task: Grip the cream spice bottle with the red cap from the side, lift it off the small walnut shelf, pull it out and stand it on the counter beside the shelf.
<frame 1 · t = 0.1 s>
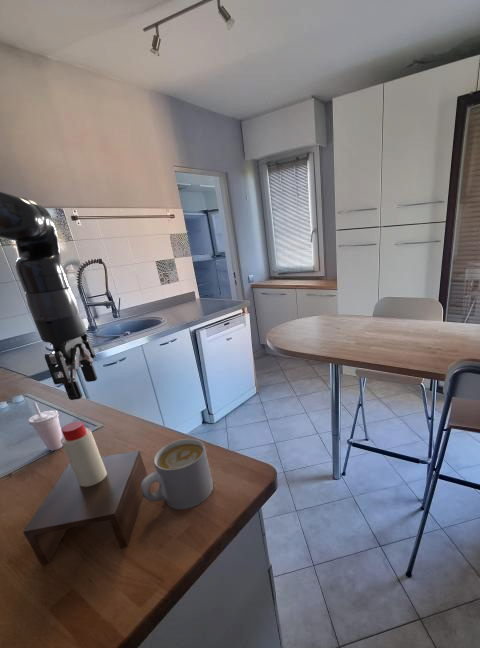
hand: (84, 389, 70), 22 cm above the counter, tool pointing down, fingers open, 8 cm apart
shelf: (102, 516, 67), on the counter
coffee mug: (181, 495, 71), on the counter
smoothie: (56, 447, 90), on the counter
spice bottle: (93, 477, 65), point 8 cm above the counter, touching shelf
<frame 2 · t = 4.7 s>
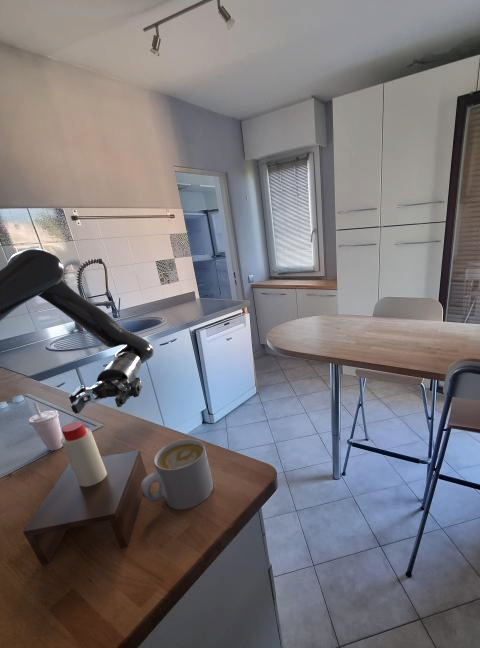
hand: (96, 406, 71), 18 cm above the counter, tool horizontal, fingers open, 8 cm apart
nothing on the counter moved.
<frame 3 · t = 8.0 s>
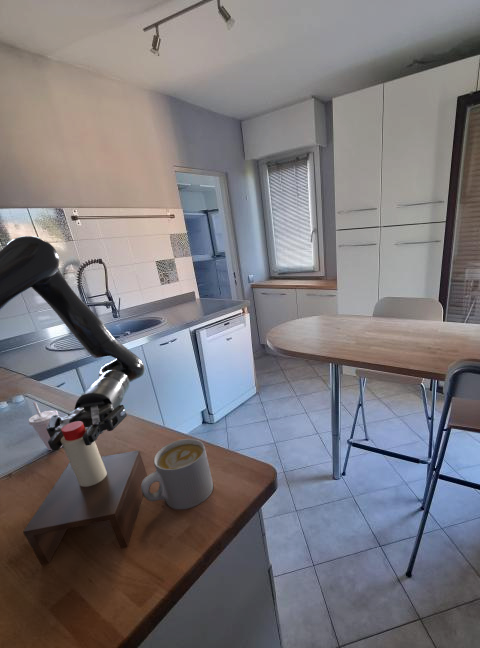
hand: (70, 443, 59), 18 cm above the counter, tool horizontal, fingers closed on spice bottle, 4 cm apart
spice bottle: (93, 477, 65), point 8 cm above the counter, touching gripper, shelf
everything else where it was.
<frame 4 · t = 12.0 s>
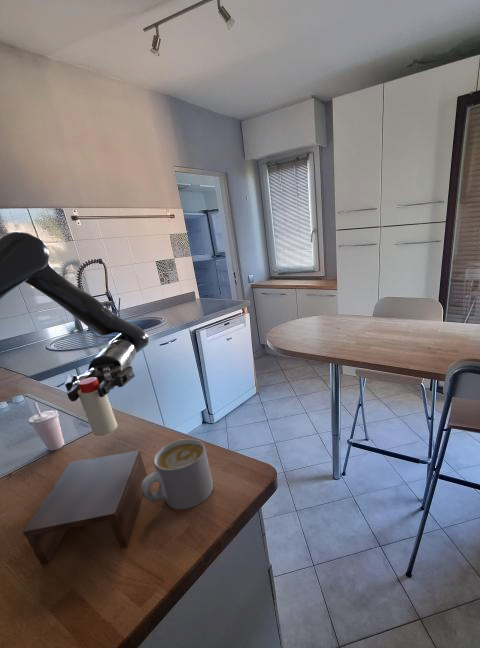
hand: (86, 394, 67), 22 cm above the counter, tool horizontal, fingers closed on spice bottle, 4 cm apart
spice bottle: (105, 429, 74), point 12 cm above the counter, touching gripper
everything else where it was.
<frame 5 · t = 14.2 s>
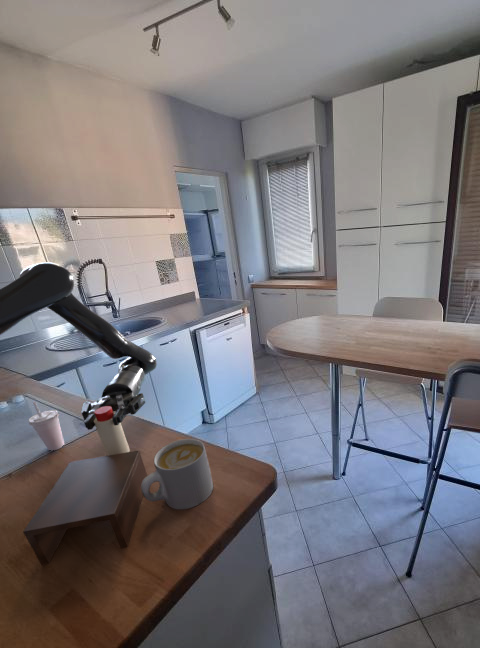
hand: (101, 423, 72), 14 cm above the counter, tool horizontal, fingers closed on spice bottle, 4 cm apart
spice bottle: (118, 453, 79), point 4 cm above the counter, touching gripper
everything else where it was.
when the fingers open (10 cm above the counter, at t = 15.9 s): spice bottle stays where it is, on the counter.
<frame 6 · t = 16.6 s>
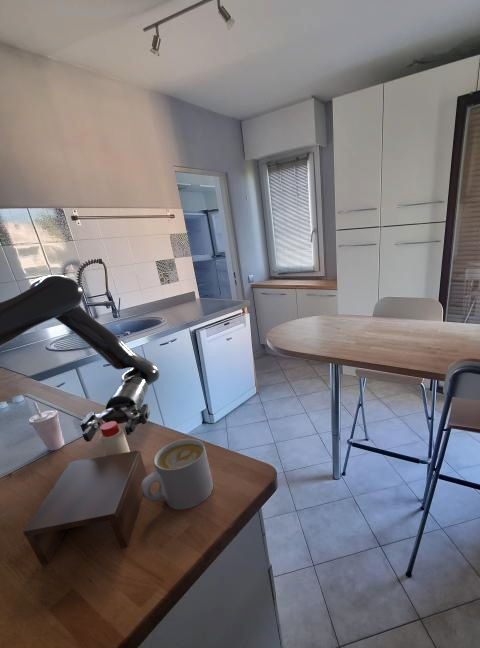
hand: (107, 435, 74), 11 cm above the counter, tool horizontal, fingers open, 8 cm apart
spice bottle: (123, 467, 80), on the counter
everything else where it was.
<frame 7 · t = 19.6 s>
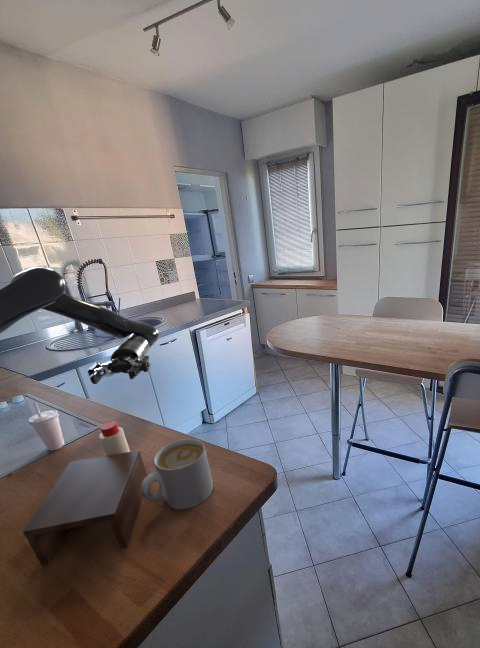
hand: (112, 378, 81), 19 cm above the counter, tool horizontal, fingers open, 8 cm apart
nothing on the counter moved.
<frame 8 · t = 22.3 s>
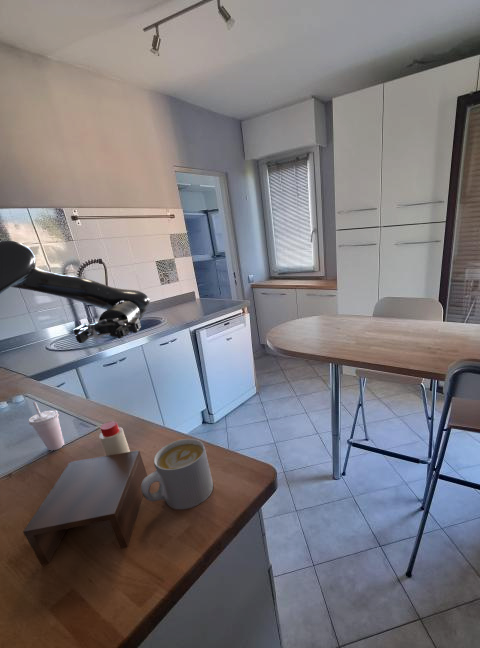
hand: (99, 336, 77), 30 cm above the counter, tool horizontal, fingers open, 8 cm apart
nothing on the counter moved.
at the end: spice bottle inside the target area (0.4 cm from its centre), on the counter; spice bottle tilted 0°; the gripper is holding nothing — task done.
